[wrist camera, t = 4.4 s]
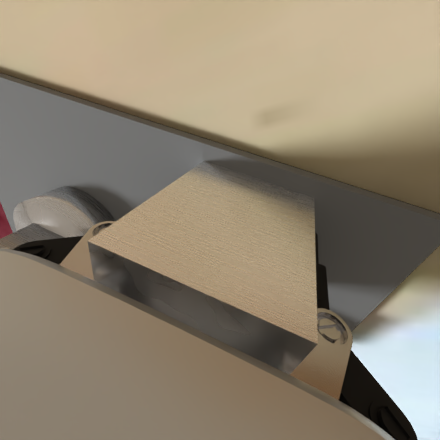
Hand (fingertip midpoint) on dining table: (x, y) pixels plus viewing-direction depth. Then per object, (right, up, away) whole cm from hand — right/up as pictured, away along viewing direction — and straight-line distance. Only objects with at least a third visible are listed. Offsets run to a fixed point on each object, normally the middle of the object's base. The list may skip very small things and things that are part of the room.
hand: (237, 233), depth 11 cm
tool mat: (-6, -1, +5) cm, 8 cm away
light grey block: (0, 0, +1) cm, 1 cm away
